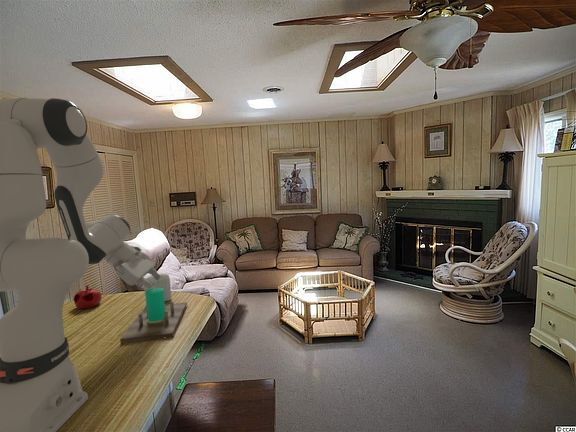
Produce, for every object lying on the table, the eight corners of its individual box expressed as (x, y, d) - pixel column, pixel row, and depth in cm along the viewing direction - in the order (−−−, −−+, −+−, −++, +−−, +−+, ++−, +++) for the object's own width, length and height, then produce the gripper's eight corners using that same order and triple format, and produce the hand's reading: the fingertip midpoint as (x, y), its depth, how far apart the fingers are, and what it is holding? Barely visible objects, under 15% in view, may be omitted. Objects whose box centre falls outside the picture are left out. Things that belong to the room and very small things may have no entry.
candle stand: (172, 337, 98) (171, 321, 97) (120, 343, 95) (118, 327, 95) (186, 305, 123) (185, 293, 123) (146, 310, 121) (144, 297, 120)
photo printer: (170, 297, 134) (167, 270, 132) (172, 300, 130) (170, 272, 129) (145, 303, 128) (142, 275, 127) (146, 306, 125) (143, 278, 123)
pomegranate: (85, 302, 134) (83, 282, 133) (107, 301, 133) (104, 281, 132) (68, 311, 124) (65, 289, 123) (91, 310, 123) (89, 288, 123)
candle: (160, 321, 106) (157, 289, 104) (144, 321, 107) (141, 289, 105) (169, 314, 112) (166, 283, 110) (154, 314, 112) (151, 283, 111)
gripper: (117, 258, 95) (152, 285, 97) (140, 246, 115) (168, 268, 118) (104, 273, 95) (139, 299, 97) (129, 258, 115) (157, 280, 117)
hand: (155, 282), depth 108 cm, fingers open, 8 cm apart
